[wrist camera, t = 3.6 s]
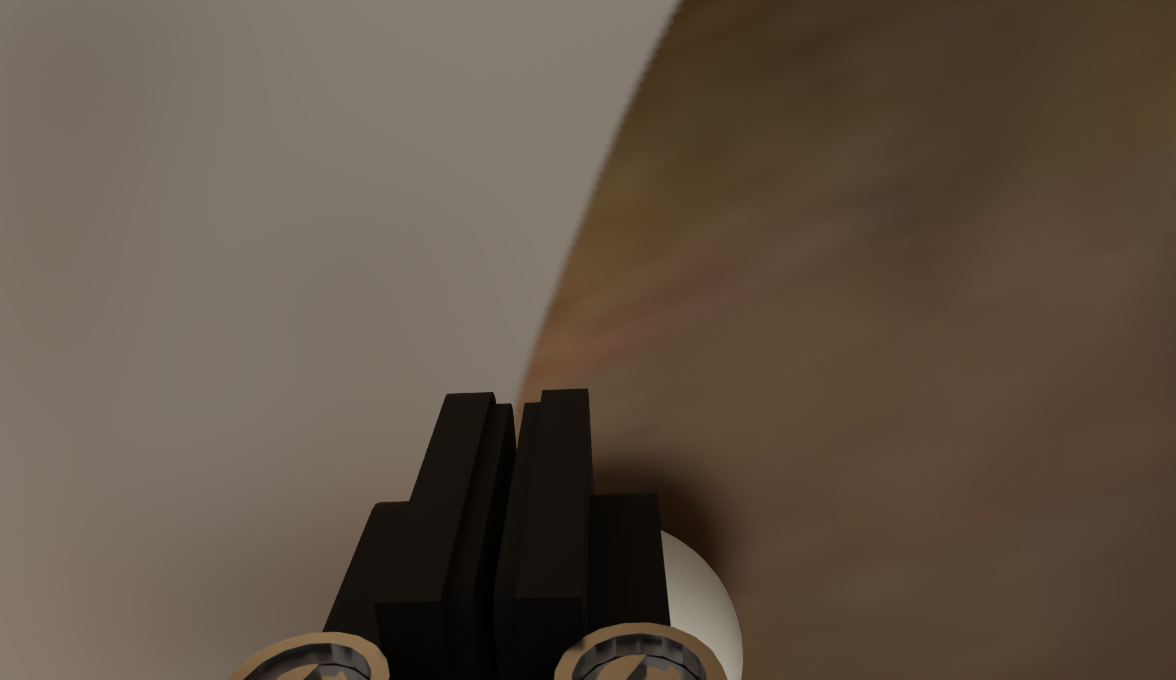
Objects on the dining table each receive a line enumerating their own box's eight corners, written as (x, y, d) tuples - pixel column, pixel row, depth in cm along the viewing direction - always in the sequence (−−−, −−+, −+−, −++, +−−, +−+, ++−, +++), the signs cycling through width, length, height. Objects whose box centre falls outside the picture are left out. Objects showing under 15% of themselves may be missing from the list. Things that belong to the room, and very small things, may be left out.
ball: (490, 476, 24) (451, 636, 19) (730, 470, 24) (762, 631, 18) (509, 664, 27) (479, 856, 21) (728, 661, 26) (755, 855, 21)
